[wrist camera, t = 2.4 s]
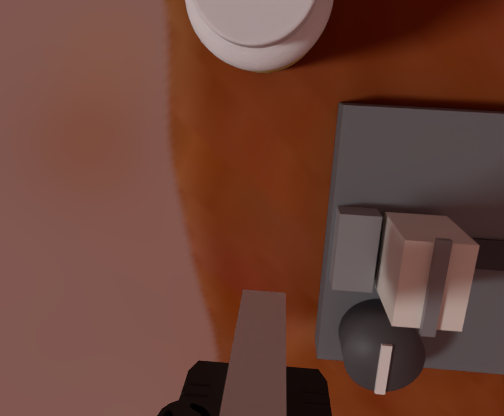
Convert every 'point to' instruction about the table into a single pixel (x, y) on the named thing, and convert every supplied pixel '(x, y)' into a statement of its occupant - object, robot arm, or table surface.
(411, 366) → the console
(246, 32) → the supplement bottle
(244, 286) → the table surface
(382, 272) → the fader knob
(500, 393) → the table surface
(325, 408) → the robot arm
